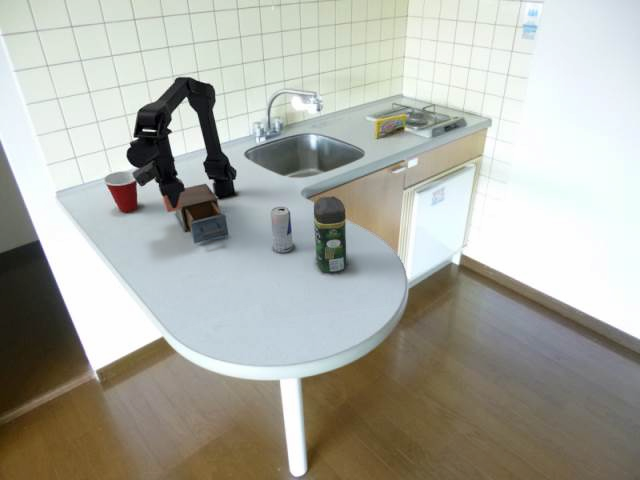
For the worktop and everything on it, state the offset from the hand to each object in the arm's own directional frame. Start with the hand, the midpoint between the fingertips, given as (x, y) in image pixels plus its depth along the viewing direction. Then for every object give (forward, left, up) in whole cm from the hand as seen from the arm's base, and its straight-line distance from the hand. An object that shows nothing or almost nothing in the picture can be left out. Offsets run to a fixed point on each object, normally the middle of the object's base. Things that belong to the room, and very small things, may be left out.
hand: (173, 204), depth 136 cm
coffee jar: (-33, +36, -11) cm, 50 cm away
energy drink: (-25, +22, -11) cm, 35 cm away
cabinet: (-8, -9, -11) cm, 16 cm away
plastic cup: (+11, -28, -11) cm, 32 cm away
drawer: (-8, +4, -10) cm, 13 cm away
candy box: (-105, -43, -11) cm, 114 cm away
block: (0, 0, -1) cm, 1 cm away
